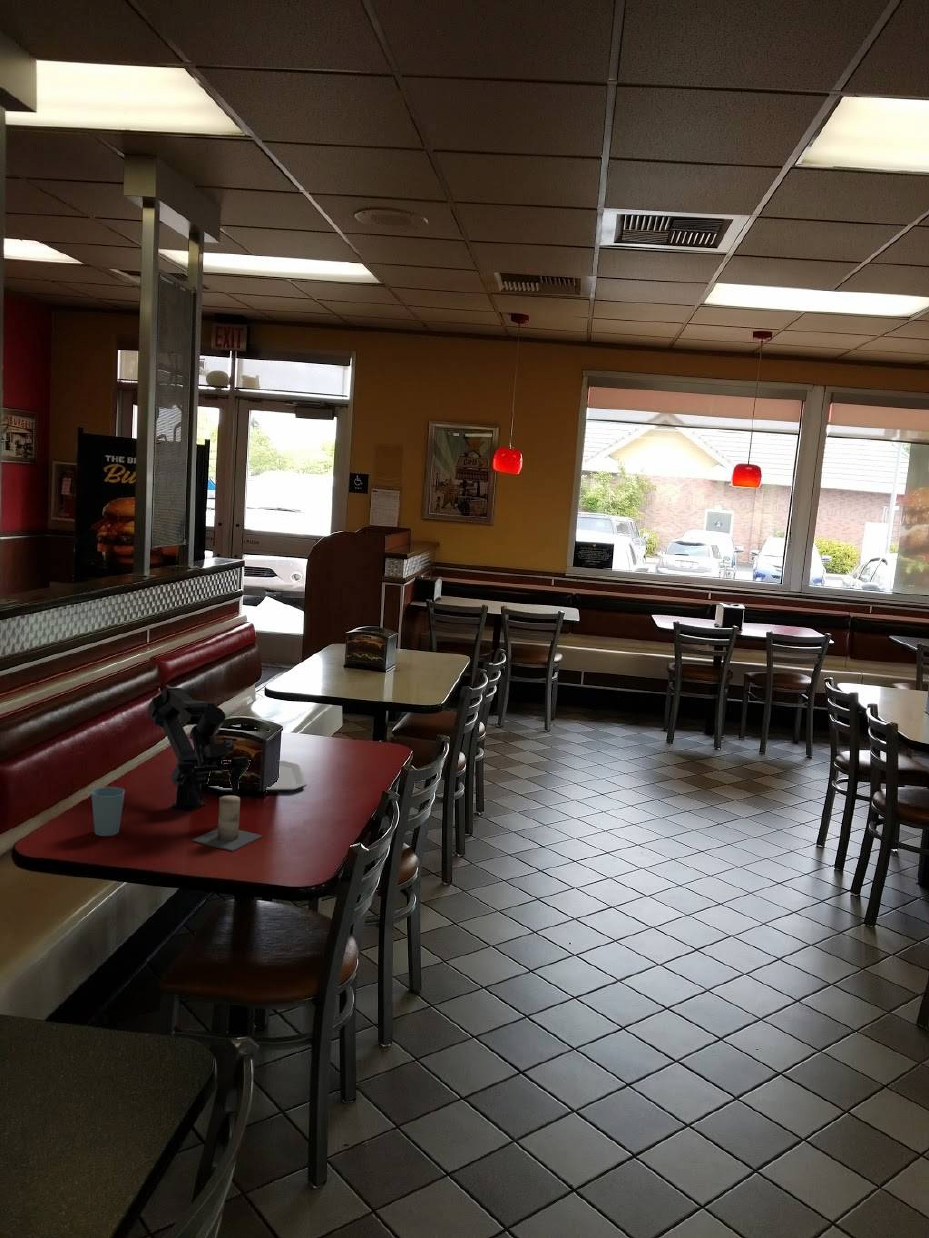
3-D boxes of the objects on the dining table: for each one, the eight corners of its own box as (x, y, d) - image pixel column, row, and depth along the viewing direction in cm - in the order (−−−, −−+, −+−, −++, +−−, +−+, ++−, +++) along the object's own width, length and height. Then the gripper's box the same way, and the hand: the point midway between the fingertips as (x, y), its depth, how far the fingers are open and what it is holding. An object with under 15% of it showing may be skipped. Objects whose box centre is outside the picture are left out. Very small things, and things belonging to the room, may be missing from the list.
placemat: (223, 827, 244) (223, 825, 244) (262, 837, 239) (262, 835, 239) (192, 841, 233) (192, 839, 233) (232, 851, 228) (233, 850, 228)
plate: (204, 796, 268) (205, 788, 267) (204, 767, 295) (204, 760, 295) (308, 795, 276) (308, 788, 275) (297, 767, 303) (298, 760, 303)
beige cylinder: (219, 833, 238) (221, 794, 237) (240, 834, 239) (242, 796, 237) (215, 840, 233) (217, 801, 232) (235, 841, 234) (237, 802, 232)
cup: (123, 826, 239) (124, 786, 238) (123, 837, 232) (125, 795, 231) (91, 827, 237) (92, 787, 235) (90, 838, 229) (91, 797, 228)
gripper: (178, 731, 237) (192, 787, 229) (249, 726, 248) (264, 779, 240) (166, 754, 244) (179, 809, 237) (235, 748, 255) (250, 799, 248)
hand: (219, 798), depth 240 cm, fingers open, 9 cm apart
